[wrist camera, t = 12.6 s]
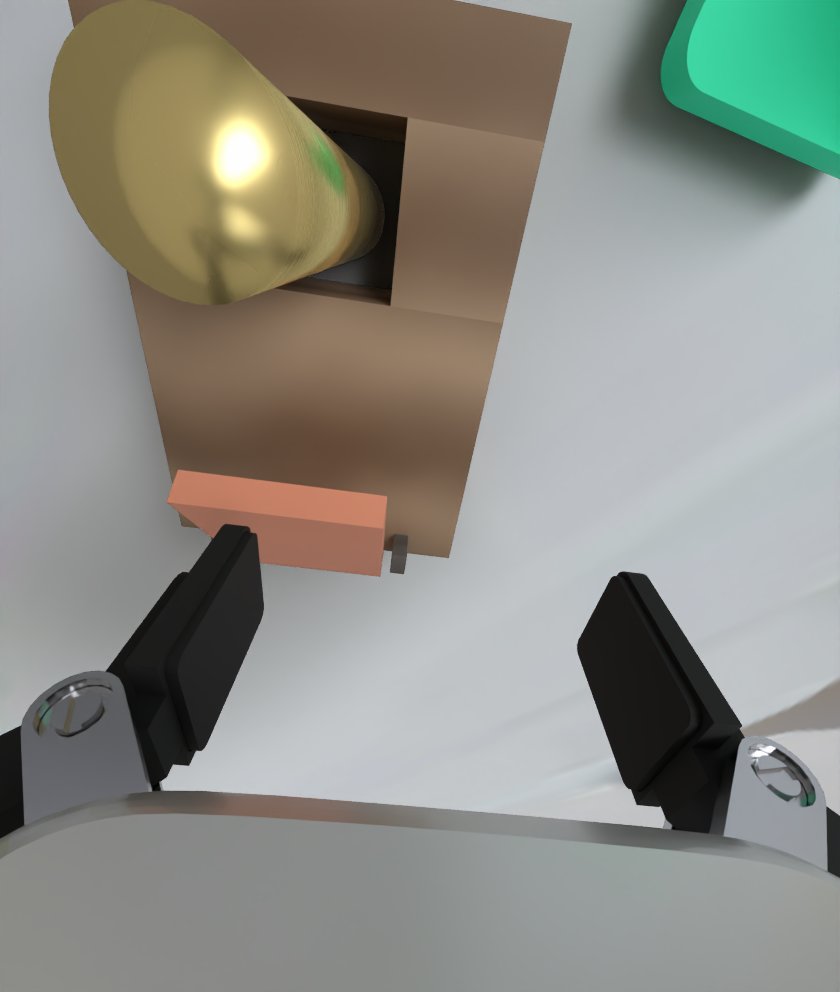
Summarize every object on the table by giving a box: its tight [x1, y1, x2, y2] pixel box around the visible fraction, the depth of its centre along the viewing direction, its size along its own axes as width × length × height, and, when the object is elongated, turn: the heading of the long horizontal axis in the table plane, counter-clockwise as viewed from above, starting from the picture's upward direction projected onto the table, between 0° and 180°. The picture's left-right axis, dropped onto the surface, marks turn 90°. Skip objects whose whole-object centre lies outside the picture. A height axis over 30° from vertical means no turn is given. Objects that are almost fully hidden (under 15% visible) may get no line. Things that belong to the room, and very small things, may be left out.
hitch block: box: [68, 0, 572, 574], centre depth 15 cm, size 17×12×5 cm
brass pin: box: [49, 0, 385, 305], centre depth 10 cm, size 3×3×12 cm
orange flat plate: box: [167, 470, 387, 577], centre depth 15 cm, size 7×6×1 cm
